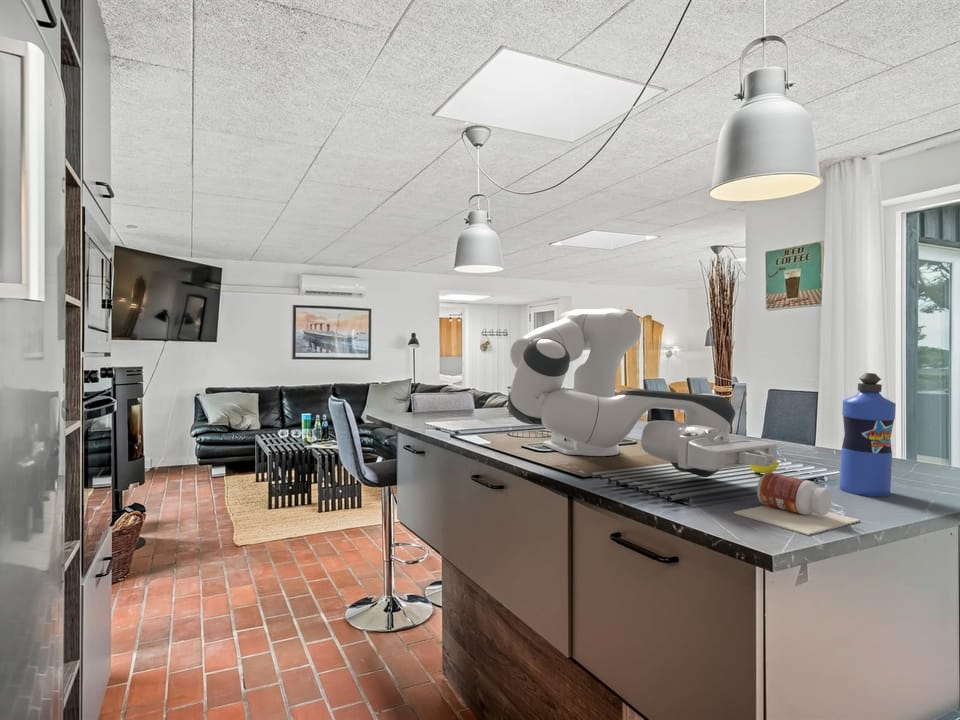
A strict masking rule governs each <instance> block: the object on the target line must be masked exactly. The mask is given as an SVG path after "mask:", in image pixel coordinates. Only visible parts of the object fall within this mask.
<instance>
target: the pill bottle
mask: <svg viewBox="0 0 960 720" xmlns="http://www.w3.org/2000/svg"><path fill="white" fill-rule="evenodd" d="M756 487H757V488H756V493H757V500H758V501H759V502H760V503H761V504H762V505H763V506H764V505H768V506H771V507H775V508H779V509H783V510H787V511H791V512H794V513H798V514H802V515H809V514H811V513H813V512H814V513H816V514H819V515H826V514H827V513H828V512H830V509H831V507H832V502H833V496H832V492H831V491H830V489H828V488H824V487H818V486H817V484H816V483H815V482H813V481H811V480H807V479H802V478H797V477H793V476H789V475H783V474H780V473H779V474H778V473H774V472H772V473H770V472H769V473H765V474H764V475H761V477H759V480H758V483H757V486H756Z"/></svg>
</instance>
